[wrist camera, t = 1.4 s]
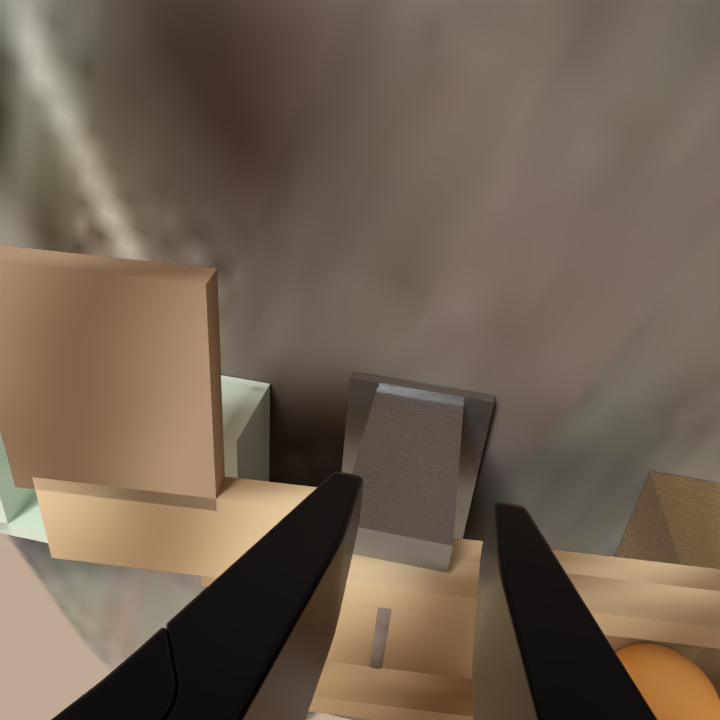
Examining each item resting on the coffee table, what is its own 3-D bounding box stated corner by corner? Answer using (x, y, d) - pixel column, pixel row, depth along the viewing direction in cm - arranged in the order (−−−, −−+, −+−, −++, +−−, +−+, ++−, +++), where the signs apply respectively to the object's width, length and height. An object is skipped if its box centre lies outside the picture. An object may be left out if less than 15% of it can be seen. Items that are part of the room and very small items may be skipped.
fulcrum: (744, 438, 21) (847, 617, 15) (656, 615, 25) (706, 806, 19) (352, 372, 22) (299, 509, 16) (336, 550, 27) (290, 708, 21)
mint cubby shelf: (269, 383, 23) (236, 441, 20) (268, 518, 27) (239, 583, 24) (20, 340, 24) (-46, 388, 21) (50, 474, 28) (-3, 532, 25)
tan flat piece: (895, 318, 14) (993, 384, 11) (673, 698, 21) (705, 786, 19) (11, 223, 14) (-67, 268, 12) (96, 627, 21) (58, 703, 19)
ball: (708, 622, 18) (770, 739, 15) (670, 688, 19) (719, 804, 17) (596, 614, 18) (638, 730, 15) (568, 682, 19) (600, 797, 17)
